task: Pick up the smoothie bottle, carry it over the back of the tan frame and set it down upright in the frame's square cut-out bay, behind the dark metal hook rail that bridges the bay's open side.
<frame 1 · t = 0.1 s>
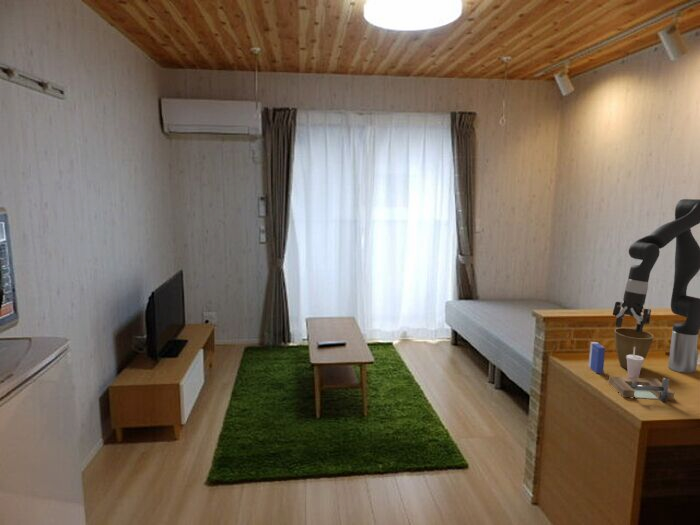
hand: (627, 330, 186), 22 cm above the table, tool pointing down, fingers open, 8 cm apart
bay mat: (640, 393, 179), on the table
smoothie: (632, 379, 192), on the table
tan frame: (640, 393, 179), on the table
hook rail: (663, 401, 172), on the table
plant pot: (630, 367, 205), on the table
walkman: (595, 370, 202), on the table
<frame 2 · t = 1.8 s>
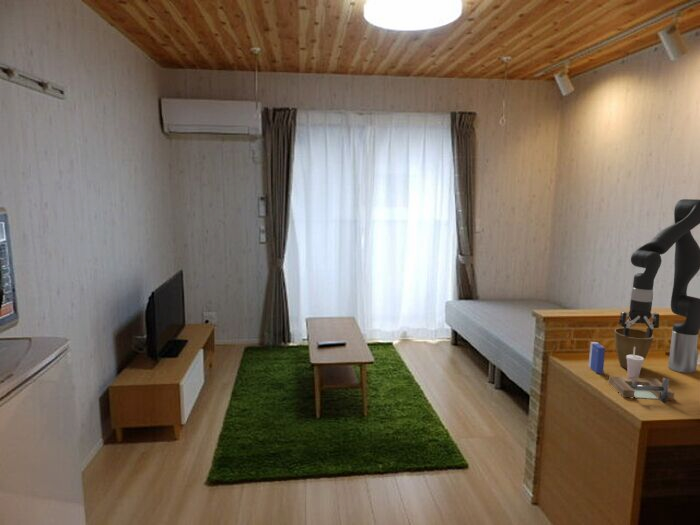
hand: (637, 336, 189), 19 cm above the table, tool pointing down, fingers open, 8 cm apart
nothing on the table moved.
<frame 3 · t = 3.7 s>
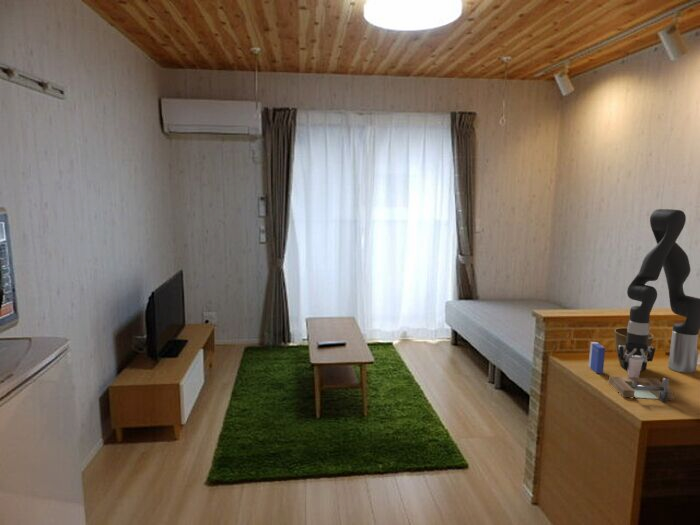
hand: (633, 369, 192), 4 cm above the table, tool pointing down, fingers closed on smoothie, 6 cm apart
smoothie: (632, 379, 192), on the table, touching gripper
everything else where it was.
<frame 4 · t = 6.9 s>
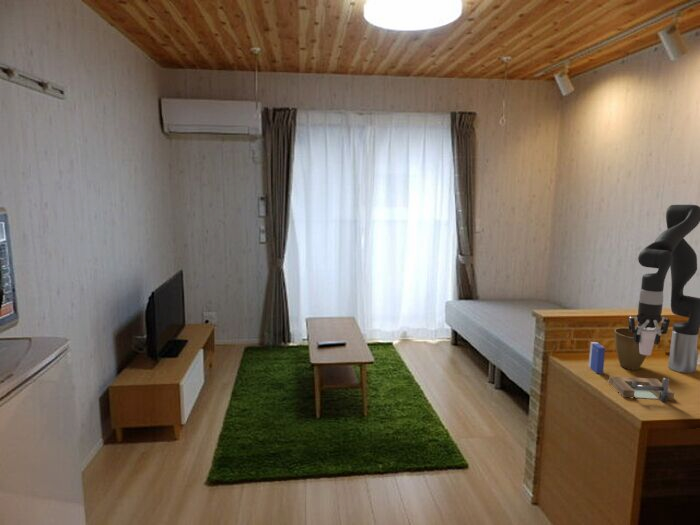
hand: (646, 343, 175), 21 cm above the table, tool pointing down, fingers closed on smoothie, 6 cm apart
smoothie: (645, 354, 176), point 16 cm above the table, touching gripper
everything else where it was.
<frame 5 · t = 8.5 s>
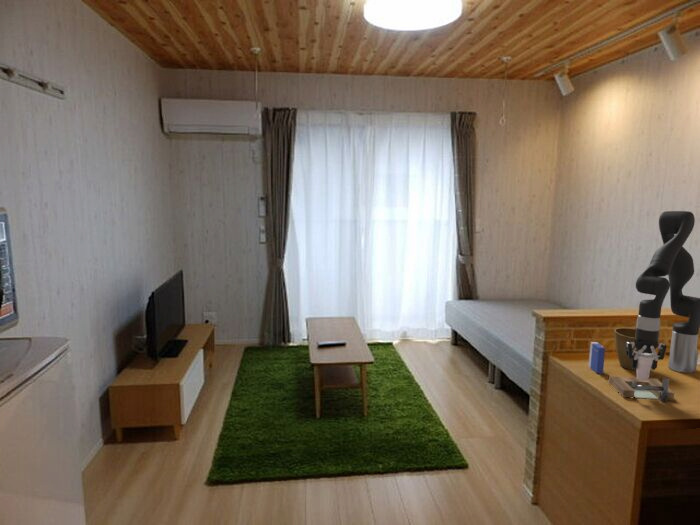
hand: (643, 368, 177), 10 cm above the table, tool pointing down, fingers closed on smoothie, 6 cm apart
smoothie: (642, 379, 178), point 6 cm above the table, touching gripper
everything else where it was.
when the fingers open (5 cm above the table, at t = 10.1 s): smoothie stays where it is, resting on bay mat.
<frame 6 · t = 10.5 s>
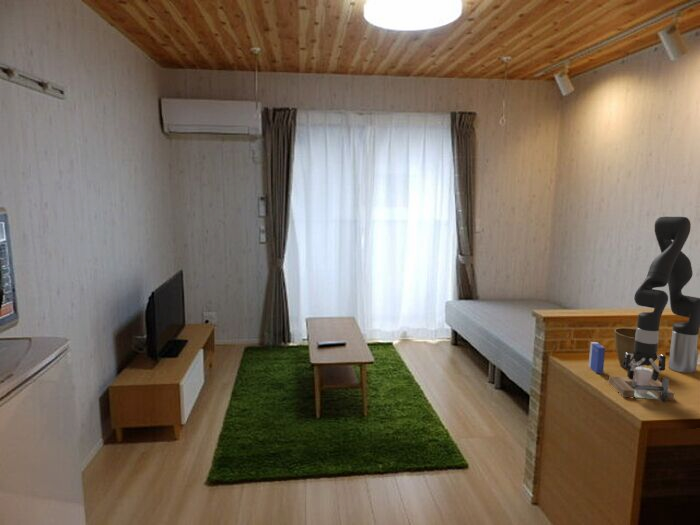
hand: (642, 379, 178), 6 cm above the table, tool pointing down, fingers open, 8 cm apart
smoothie: (640, 393, 179), resting on bay mat
everything else where it was.
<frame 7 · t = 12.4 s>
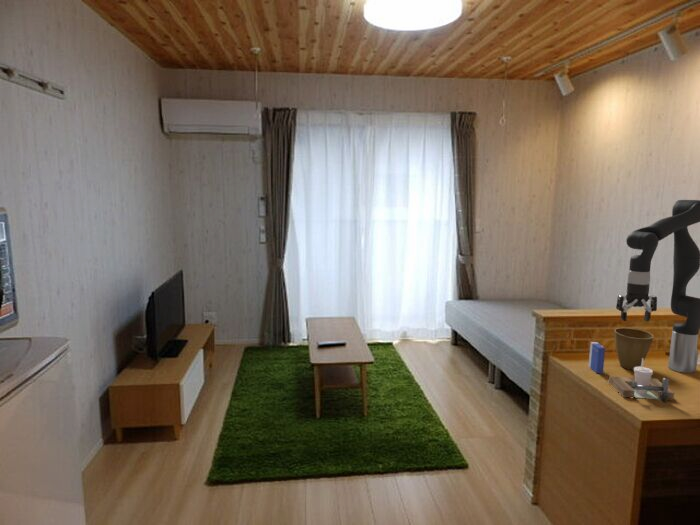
hand: (635, 320, 184), 27 cm above the table, tool pointing down, fingers open, 8 cm apart
nothing on the table moved.
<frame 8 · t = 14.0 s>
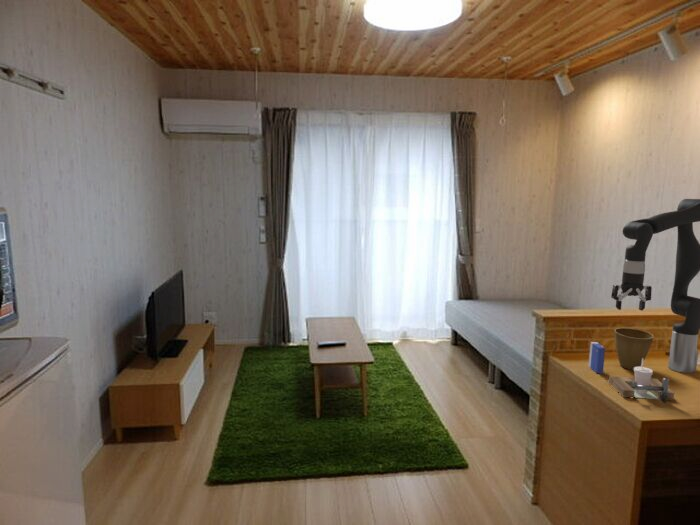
hand: (629, 309, 188), 30 cm above the table, tool pointing down, fingers open, 8 cm apart
nothing on the table moved.
at the end: smoothie 0.1 cm off-centre on the tan frame, point 0.1 cm above the tan frame's base; smoothie tilted 0°; the gripper is holding nothing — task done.
